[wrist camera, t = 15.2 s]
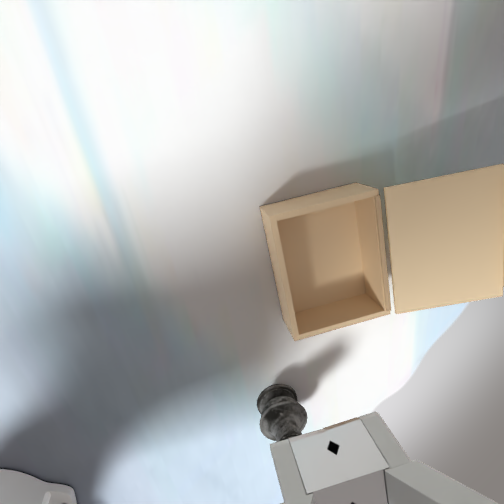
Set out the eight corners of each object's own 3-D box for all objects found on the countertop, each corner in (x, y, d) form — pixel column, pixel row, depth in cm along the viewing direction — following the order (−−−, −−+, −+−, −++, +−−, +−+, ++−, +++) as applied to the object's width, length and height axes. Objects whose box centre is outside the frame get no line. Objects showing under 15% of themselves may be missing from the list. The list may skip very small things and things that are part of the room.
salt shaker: (293, 420, 49) (324, 506, 38) (250, 419, 48) (270, 507, 37) (303, 383, 48) (339, 461, 37) (259, 380, 46) (283, 460, 35)
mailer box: (369, 294, 45) (391, 314, 40) (283, 318, 44) (295, 342, 39) (356, 182, 41) (379, 189, 36) (259, 206, 40) (269, 217, 35)
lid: (399, 318, 39) (394, 311, 41) (512, 299, 38) (504, 293, 40) (387, 190, 35) (383, 187, 36) (516, 164, 34) (507, 162, 35)
